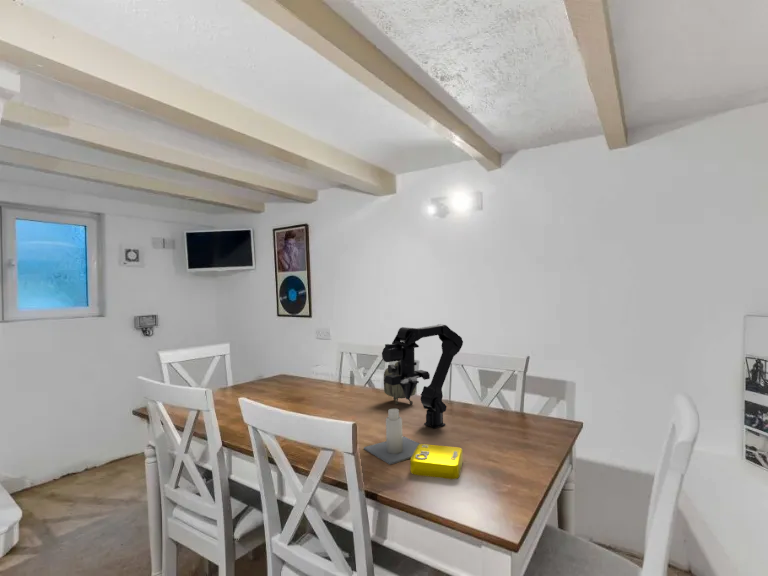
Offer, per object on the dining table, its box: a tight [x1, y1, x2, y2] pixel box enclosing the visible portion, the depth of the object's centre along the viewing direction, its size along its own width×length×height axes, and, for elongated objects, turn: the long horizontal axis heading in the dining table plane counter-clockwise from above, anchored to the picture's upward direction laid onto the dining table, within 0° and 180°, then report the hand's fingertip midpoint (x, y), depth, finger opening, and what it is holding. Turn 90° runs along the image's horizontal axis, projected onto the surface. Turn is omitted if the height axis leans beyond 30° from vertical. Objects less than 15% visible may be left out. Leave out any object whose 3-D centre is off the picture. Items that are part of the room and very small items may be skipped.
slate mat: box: [363, 436, 420, 466], centre depth 141 cm, size 18×16×1 cm
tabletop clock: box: [383, 360, 417, 405], centre depth 199 cm, size 14×9×25 cm, turn 46°
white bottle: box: [385, 408, 403, 454], centre depth 139 cm, size 6×6×14 cm
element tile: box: [409, 443, 464, 480], centre depth 128 cm, size 15×15×5 cm
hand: (407, 399), depth 159 cm, fingers closed
